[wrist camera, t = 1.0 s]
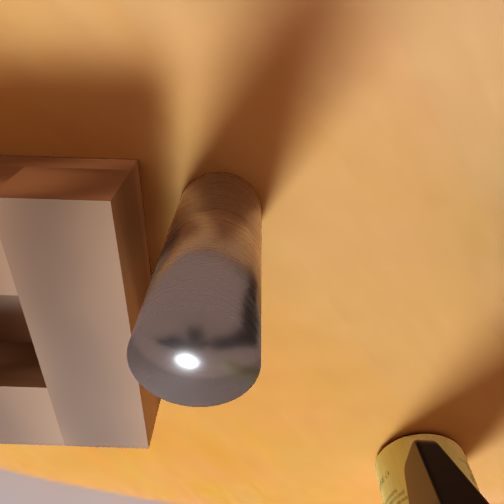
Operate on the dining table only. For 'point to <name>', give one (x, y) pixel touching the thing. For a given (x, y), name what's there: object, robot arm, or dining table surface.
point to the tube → (394, 462)
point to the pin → (204, 299)
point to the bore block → (72, 302)
